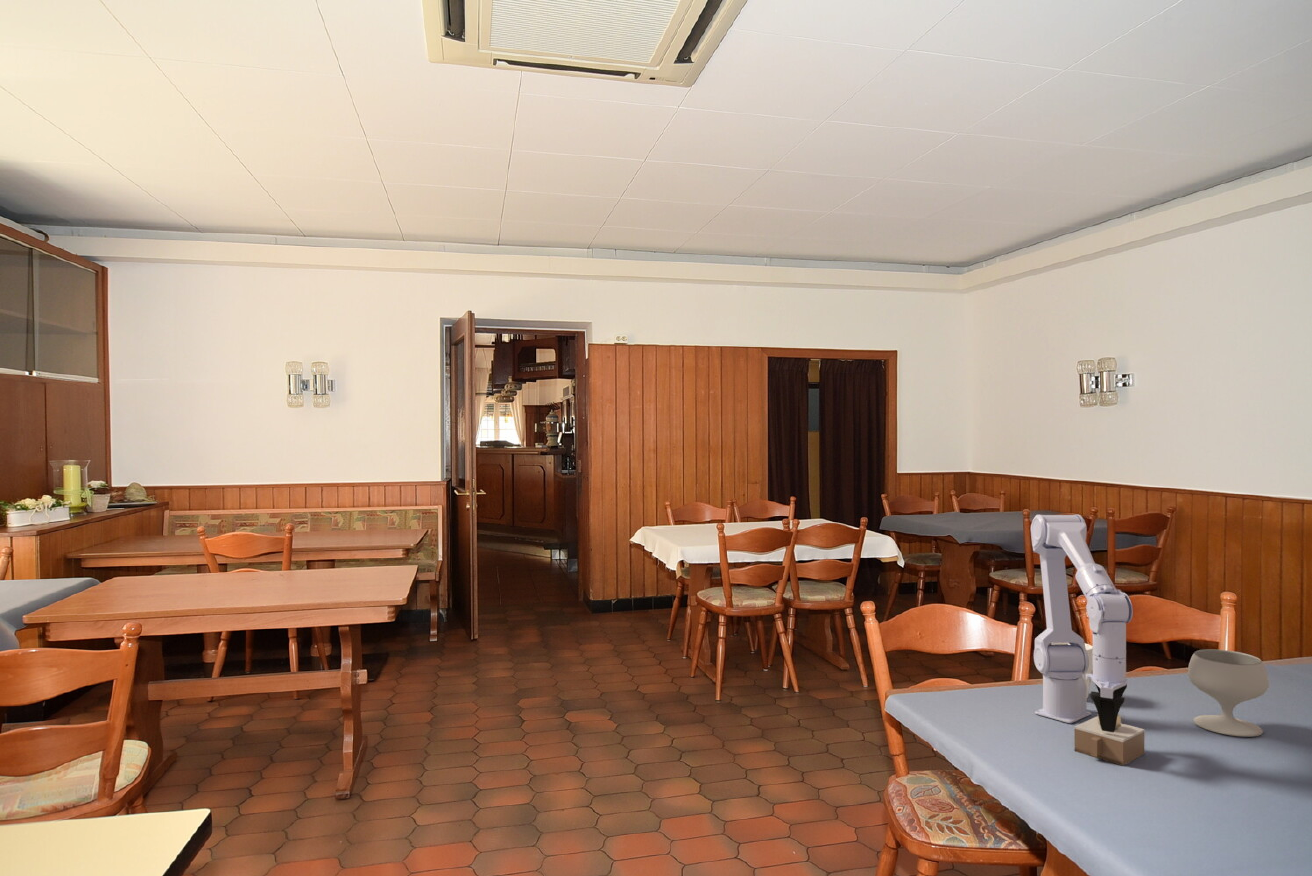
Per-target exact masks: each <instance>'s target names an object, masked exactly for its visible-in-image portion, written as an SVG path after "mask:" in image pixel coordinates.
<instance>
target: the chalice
mask: <svg viewBox="0 0 1312 876" xmlns="http://www.w3.org/2000/svg"><path fill="white" fill-rule="evenodd" d="M1187 677H1188V679H1189V680H1190V683H1191V684H1192V685H1193V686H1194V687H1196V688H1197V689H1198V690H1200V691H1201V692H1203V693H1205V694H1206V695H1208V696H1209V697H1211V698H1212V699H1214V700H1215V701H1216V702H1217V703H1218V704H1219V705H1220V707H1221V710H1222V711H1221V714H1220V715H1219V714H1218V715H1217V714H1204V715H1197V716H1196V717H1194V718H1193V719H1192V722H1193V724H1195V725H1196V726H1197V727H1200V728H1201V729H1204V730H1206V731H1210V732H1214V733H1217V734H1222V735H1227V736H1233V737H1243V738H1246V737H1258V736H1261V735H1263V734H1264V730H1263V729H1262V728H1261V727H1260V726H1258V725H1257V724H1255V723H1253V722H1252V721H1251V722H1250V721H1248V720H1244V719H1241V718H1237V717H1235V716H1234V712H1233V711H1234V709H1235V708H1236V706H1237V705H1239V704H1241V703H1244V702H1245V701H1246V702H1247V701H1250V700H1254V699H1256V698H1259V697H1262V696H1263V695H1264V694H1265V693H1266V692H1267V691H1268V689H1269V687H1270V681H1269V676H1268V671H1267V668H1266V666H1265V664H1264V663H1263V661H1262V660H1261V659H1260V658H1259V657H1257V656H1254V655H1251V654H1248V653H1244V652H1240V651H1235V650H1226V649H1217V648H1216V649H1210V648H1209V649H1207V648H1205V649H1199V650H1196V651H1194V652H1193V654H1192V656H1191V658H1190V660H1189V663H1188V668H1187Z"/></svg>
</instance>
